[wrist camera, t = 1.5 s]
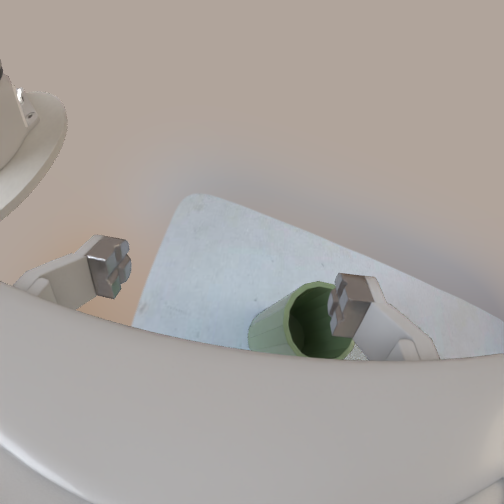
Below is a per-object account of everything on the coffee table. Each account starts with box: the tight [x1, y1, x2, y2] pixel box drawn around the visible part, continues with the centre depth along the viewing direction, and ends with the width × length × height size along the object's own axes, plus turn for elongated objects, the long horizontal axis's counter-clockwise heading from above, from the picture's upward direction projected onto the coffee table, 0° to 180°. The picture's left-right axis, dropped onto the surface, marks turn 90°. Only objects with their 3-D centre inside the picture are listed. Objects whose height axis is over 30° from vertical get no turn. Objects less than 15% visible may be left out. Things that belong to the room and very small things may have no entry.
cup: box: [248, 281, 355, 360], centre depth 22 cm, size 6×6×9 cm
